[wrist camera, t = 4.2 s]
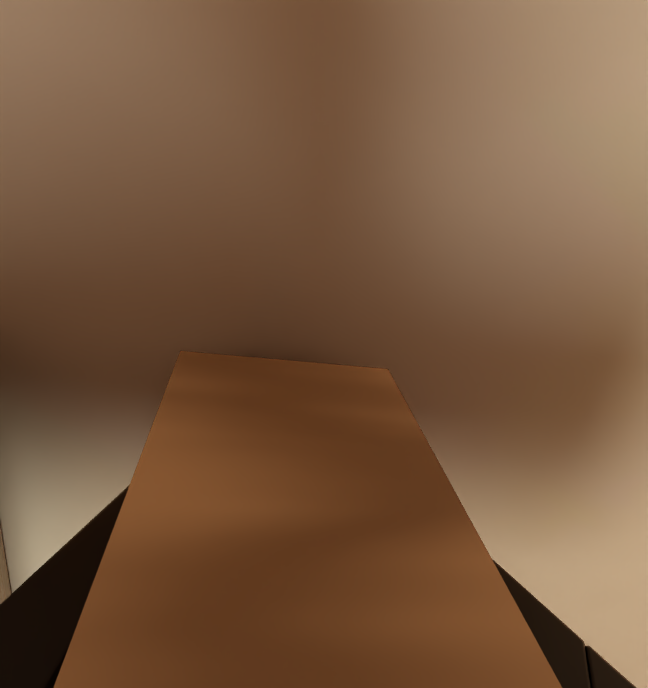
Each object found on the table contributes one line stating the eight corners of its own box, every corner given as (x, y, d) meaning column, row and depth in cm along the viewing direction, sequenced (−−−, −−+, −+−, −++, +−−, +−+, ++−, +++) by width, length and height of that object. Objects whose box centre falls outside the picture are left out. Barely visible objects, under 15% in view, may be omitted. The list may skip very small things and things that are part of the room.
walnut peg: (387, 369, 9) (868, 1248, 2) (351, 520, 11) (541, 1321, 3) (180, 351, 8) (-307, 1642, 1) (174, 516, 10) (-55, 1511, 3)
